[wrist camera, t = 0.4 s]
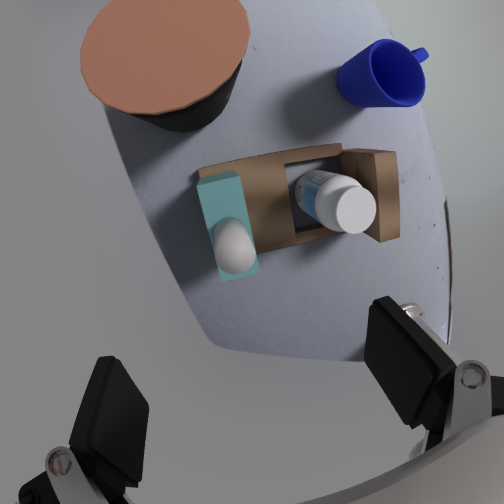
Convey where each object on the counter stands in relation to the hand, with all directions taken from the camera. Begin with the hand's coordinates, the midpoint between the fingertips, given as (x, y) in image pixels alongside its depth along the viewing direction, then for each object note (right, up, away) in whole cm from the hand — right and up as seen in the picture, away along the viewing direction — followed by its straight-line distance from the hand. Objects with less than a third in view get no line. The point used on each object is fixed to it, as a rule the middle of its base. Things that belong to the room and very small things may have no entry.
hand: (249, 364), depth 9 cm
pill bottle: (+8, +12, +26) cm, 30 cm away
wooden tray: (+5, +11, +25) cm, 28 cm away
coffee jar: (-8, +23, +19) cm, 31 cm away
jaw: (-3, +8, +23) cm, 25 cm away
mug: (+16, +28, +21) cm, 38 cm away
